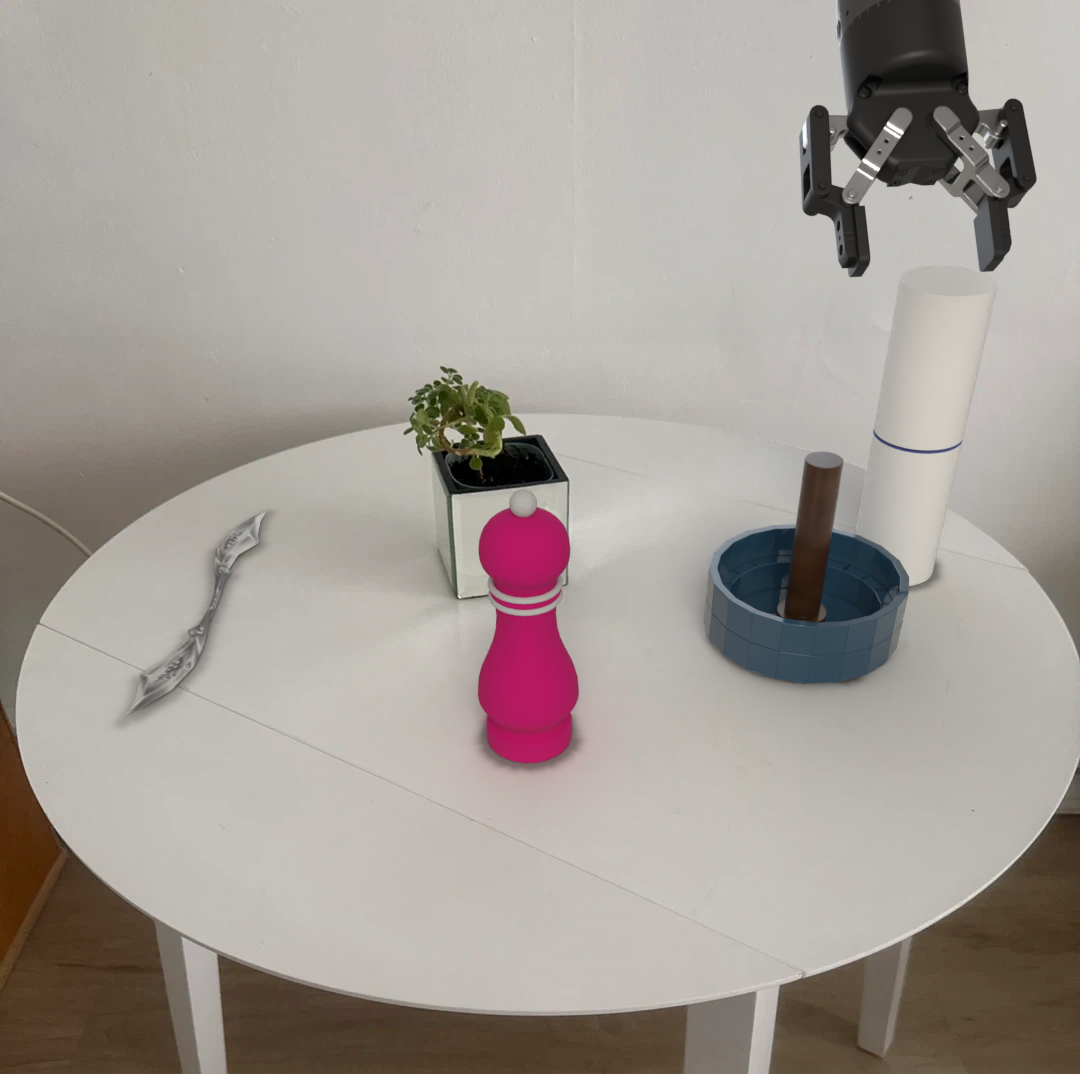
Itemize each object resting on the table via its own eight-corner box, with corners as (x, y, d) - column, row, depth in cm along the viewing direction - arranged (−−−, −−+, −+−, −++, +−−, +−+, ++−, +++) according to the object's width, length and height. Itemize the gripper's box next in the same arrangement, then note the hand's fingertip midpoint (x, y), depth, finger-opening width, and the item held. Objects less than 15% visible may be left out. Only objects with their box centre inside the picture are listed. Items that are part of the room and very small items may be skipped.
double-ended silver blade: (120, 717, 88) (184, 718, 87) (118, 711, 87) (183, 711, 87) (223, 513, 113) (273, 513, 112) (222, 507, 112) (272, 507, 112)
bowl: (897, 597, 99) (910, 536, 95) (892, 704, 88) (907, 639, 84) (718, 575, 102) (724, 515, 99) (690, 675, 91) (696, 611, 87)
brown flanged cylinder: (826, 616, 96) (853, 450, 86) (822, 643, 93) (850, 474, 83) (777, 610, 97) (799, 445, 87) (772, 636, 94) (794, 468, 84)
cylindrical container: (852, 583, 101) (903, 294, 85) (848, 542, 107) (896, 263, 91) (936, 589, 100) (1004, 298, 84) (928, 548, 106) (991, 267, 90)
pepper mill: (530, 694, 89) (524, 454, 77) (598, 736, 85) (604, 490, 73) (460, 737, 85) (441, 491, 73) (528, 782, 81) (521, 531, 69)
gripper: (806, -11, 70) (833, 242, 68) (1034, -18, 71) (1067, 232, 69) (775, 72, 78) (798, 302, 76) (981, 65, 78) (1010, 292, 77)
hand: (926, 268), depth 73 cm, fingers open, 8 cm apart
